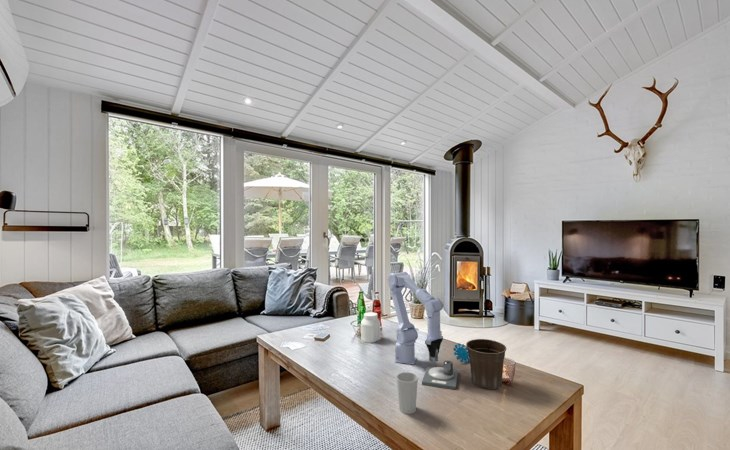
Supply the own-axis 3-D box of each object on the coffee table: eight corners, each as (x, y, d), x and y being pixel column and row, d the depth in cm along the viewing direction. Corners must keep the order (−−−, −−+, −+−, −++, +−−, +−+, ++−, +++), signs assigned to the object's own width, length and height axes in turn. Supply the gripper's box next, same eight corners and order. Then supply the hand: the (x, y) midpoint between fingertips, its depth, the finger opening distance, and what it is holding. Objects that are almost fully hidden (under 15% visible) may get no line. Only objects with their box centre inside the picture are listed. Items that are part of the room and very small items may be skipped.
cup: (395, 403, 128) (394, 372, 127) (415, 402, 128) (415, 371, 128) (398, 415, 120) (398, 382, 120) (420, 414, 120) (420, 381, 120)
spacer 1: (435, 362, 149) (435, 351, 149) (427, 360, 152) (427, 349, 152) (439, 359, 152) (439, 348, 152) (432, 357, 155) (432, 346, 155)
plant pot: (487, 396, 132) (487, 356, 132) (458, 379, 146) (458, 343, 146) (515, 386, 140) (515, 348, 139) (485, 371, 154) (484, 336, 154)
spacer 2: (451, 376, 145) (451, 364, 145) (442, 374, 147) (442, 363, 147) (454, 372, 148) (453, 361, 148) (445, 370, 150) (445, 359, 150)
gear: (459, 362, 160) (451, 342, 167) (452, 367, 164) (445, 348, 170) (477, 361, 164) (469, 342, 171) (470, 366, 168) (463, 347, 174)
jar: (370, 344, 190) (369, 317, 190) (358, 340, 196) (357, 314, 196) (383, 338, 198) (383, 313, 198) (371, 334, 205) (371, 310, 205)
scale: (421, 384, 142) (421, 379, 142) (427, 368, 157) (427, 364, 157) (455, 389, 138) (455, 384, 138) (458, 372, 153) (458, 368, 153)
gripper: (436, 331, 144) (436, 362, 144) (447, 322, 156) (448, 351, 156) (421, 328, 147) (421, 359, 148) (433, 320, 160) (433, 348, 160)
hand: (434, 355), depth 152 cm, fingers closed on spacer 1, 4 cm apart
